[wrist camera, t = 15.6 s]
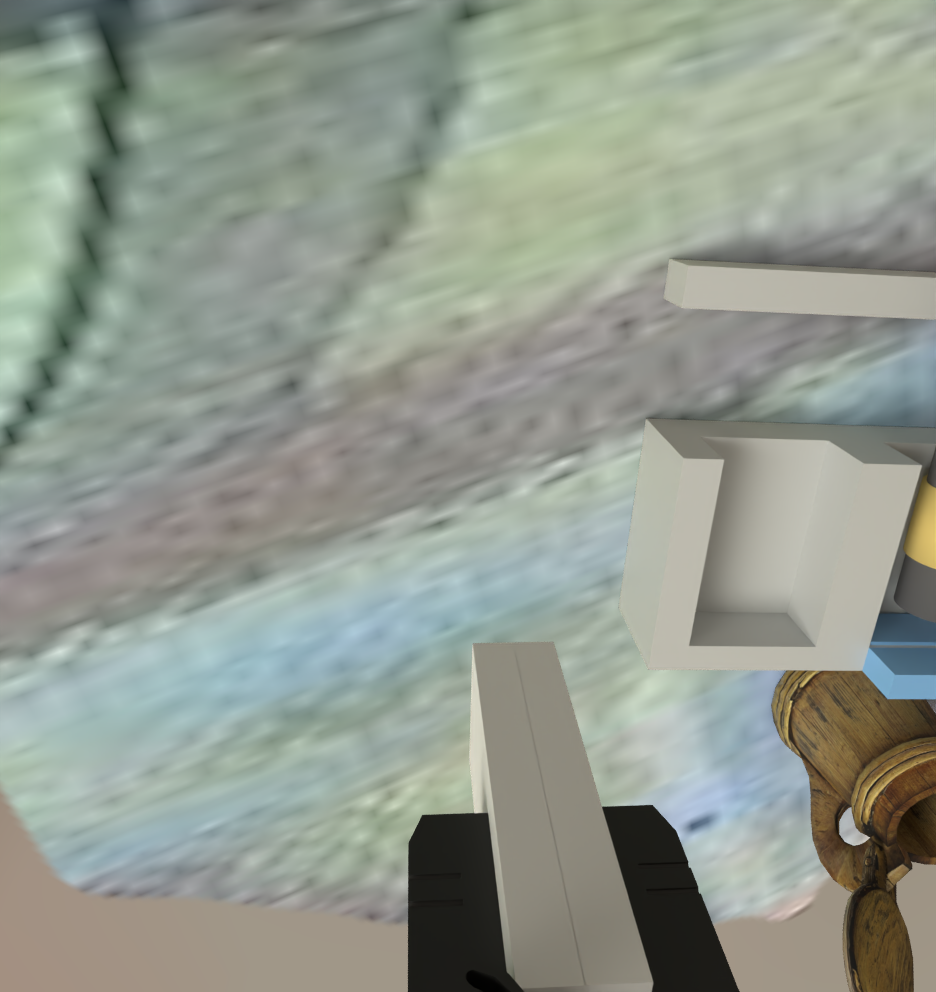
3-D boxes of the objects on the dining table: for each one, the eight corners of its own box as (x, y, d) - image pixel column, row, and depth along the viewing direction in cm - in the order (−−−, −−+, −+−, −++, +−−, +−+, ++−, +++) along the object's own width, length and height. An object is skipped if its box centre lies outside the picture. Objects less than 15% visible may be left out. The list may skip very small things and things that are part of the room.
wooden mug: (689, 735, 52) (818, 998, 36) (859, 610, 50) (1086, 833, 33) (764, 806, 55) (916, 1080, 39) (929, 691, 52) (1170, 934, 36)
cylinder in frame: (669, 258, 40) (736, 282, 32) (1070, 279, 42) (1231, 306, 34) (618, 607, 48) (661, 698, 40) (958, 611, 50) (1067, 699, 42)
